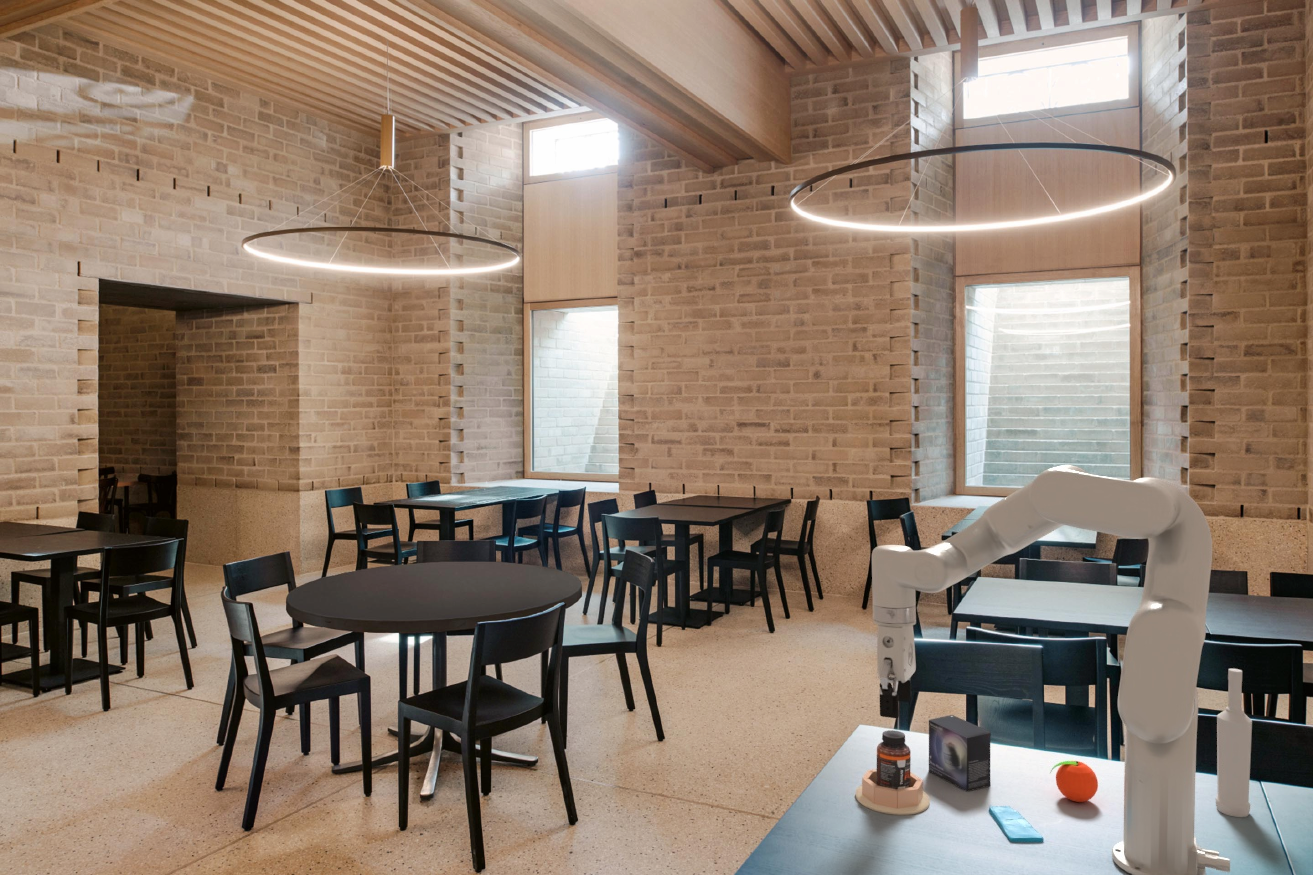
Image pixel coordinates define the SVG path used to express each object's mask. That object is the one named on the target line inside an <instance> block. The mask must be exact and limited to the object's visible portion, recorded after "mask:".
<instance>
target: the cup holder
mask: <svg viewBox="0 0 1313 875" xmlns="http://www.w3.org/2000/svg"><path fill="white" fill-rule="evenodd" d="M855 799H856V801H857V802H858V803H859V804H861V805H862V806H864V807H865V808H867V809H870V810H872V811H874V812H877V813H882V814H886V815H894V816H910V815H916V814H920V813H922V812H925V811H926V810H927V809H928V808H929V807H930V803H931V802H930V801H931V798H930V796H929V795H928V793H927V792H926V791H924V780H923V779H921V778H920V777H918V776H917V775H916V774H914V773H913V772H912V771H910V787H909V788H902V789H892V788H887V787H882V786H878V785H877V768H873V769H868V770H867V771H866V772H865V774H864V775H863V777H862V778H861V785H859V786H858V787H857V788H856V790H855Z"/></svg>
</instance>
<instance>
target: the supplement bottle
mask: <svg viewBox="0 0 1313 875" xmlns="http://www.w3.org/2000/svg"><path fill="white" fill-rule="evenodd" d="M881 740H882V741H881V742H880V743H878V745H877V747H876V769H877V785H878V786H882V787H887V788H892V789H902V788H909V787H910V772H911V760H912V759H911V757H912V756H911V748H910V747H909V746H908V745H907V744H906V735H905V733H904V732H902V731H899V730H890V729H889V730H884V731H883V732H882V737H881Z"/></svg>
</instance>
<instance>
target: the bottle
mask: <svg viewBox="0 0 1313 875" xmlns="http://www.w3.org/2000/svg"><path fill="white" fill-rule="evenodd" d="M1227 673H1228V674H1227V680H1228V693H1227V695H1228V696H1227V706H1226V707H1225V709H1224V710H1223V711H1221V712H1220V713H1218V714H1217V715H1216V723H1217V724H1216V732H1217V733H1216V738H1217V739H1216V740H1217V741H1216V745H1217V747H1216V750H1217V752H1216V756H1217V758H1216V762H1217V763H1216V770H1217V772H1216V774H1217V776H1216V778H1217V780H1216V781H1217V782H1216V783H1217V795H1216V797H1215V806H1216V809H1217V811H1218V812H1220V813H1221V814H1224V815H1226V816H1230V817H1235V818H1246V817H1248V816H1249V814H1250V811H1251V804H1250V801H1249V799H1250V798H1249V796H1250V779H1251V778H1250V776H1251V775H1250V774H1251V753H1252V732H1253V731H1252V730H1253V720H1252V719H1251V718H1250V717H1249V716H1248V715H1247V714H1246V713H1245V712H1244V711H1245V710H1244V709H1243V707H1242V694H1243V693H1242V692H1243V691H1242V686H1243V683H1242V682H1243V670H1242V669H1238V668H1228V672H1227Z"/></svg>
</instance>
